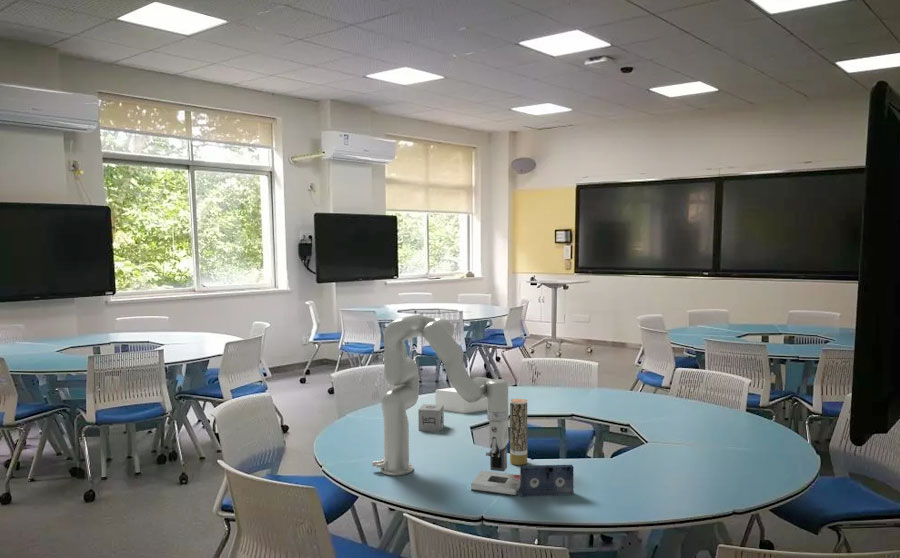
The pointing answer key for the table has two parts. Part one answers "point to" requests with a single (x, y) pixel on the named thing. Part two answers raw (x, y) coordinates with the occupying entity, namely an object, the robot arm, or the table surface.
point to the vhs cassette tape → (546, 480)
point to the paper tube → (518, 431)
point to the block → (458, 402)
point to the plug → (503, 459)
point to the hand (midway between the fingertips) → (498, 464)
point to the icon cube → (431, 417)
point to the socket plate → (496, 483)
